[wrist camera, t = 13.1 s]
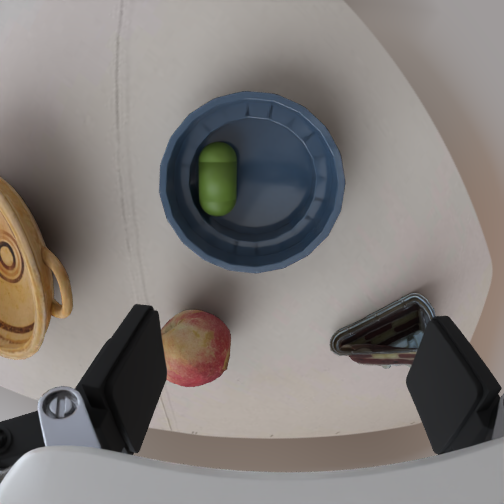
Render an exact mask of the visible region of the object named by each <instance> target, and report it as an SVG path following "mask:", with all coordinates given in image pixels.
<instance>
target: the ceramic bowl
mask: <svg viewBox="0 0 504 504" xmlns="http://www.w3.org/2000/svg"><path fill="white" fill-rule="evenodd" d="M52 271H53V273H54V274H55V276H56V278H57V281H58V283H59V287H60V291H61V298H62V305H60V304H59V303H58V302H57V301H56V300H55V299H54V287H53V275H52ZM72 308H73V299H72V291H71V285H70V281H69V277H68V275H67V272H66V270H65V268H64V267H63V265H62V264H61V262H60V261H59V260H58V258H57V257H56V256H55V255H54V254H53V253H52V252H51V251H50V250H49V249H48V248H47V247H46V245H45V242H44V239H43V237H42V234H41V232H40V229H39V227H38V225H37V223H36V221H35V219H34V217H33V215H32V213H31V211H30V210H29V208H28V207H27V205H26V204H25V202H24V201H23V199H22V198H21V196H20V195H19V194H18V193H17V192H16V191H15V189H14V188H13V187H12V186H11V185H10V184H8V183H7V182H6V181H5V180H4V179H3V178H1V177H0V356H2V357H5V358H9V359H14V360H19V359H26V358H29V357H31V356H33V355H34V354H35V353H36V352H37V351H38V350H39V348H40V346H41V344H42V342H43V340H44V336H45V333H46V331H47V329H48V326H49V322H50V319H51V315H52V316H54V317H57V318H66V317H68V316H69V315H70V313H71V311H72Z"/></svg>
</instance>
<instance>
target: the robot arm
mask: <svg viewBox="0 0 504 504" xmlns="http://www.w3.org/2000/svg"><path fill="white" fill-rule="evenodd" d="M166 379H167V366H166V361H165V354H164V348H163V342H162V335H161V328H160V321H159V314H158V311H155V310H154V309H153V307H152V306H149V305H139V304H135V305H134V306H133V308H132V309H131V311H130V312H129V313H128V315H127V316H126V318H125V319H124V320H123V322H122V323H121V325H120V326H119V328H118V329H117V330H116V332H115V333H114V335H113V336H112V338H111V339H109V340H108V341H107V342H106V343H105V345H104V346H103V347H102V349H101V350H100V352H99V353H98V355H97V356H96V358H95V359H94V361H93V362H92V364H91V365H90V367H89V368H88V370H87V371H86V373H85V374H84V376H83V377H82V379H81V380H80V382H79V383H78V385H77V386H76V388H75V389H74V388H71V387H66V386H60V387H55V388H52V389H50V390H48V391H47V392H45V393H44V394H43V395H42V397H41V398H40V400H39V402H38V411H35V412H32V413H29V414H25V415H22V416H19V417H15V418H12V419H9V420H5V421H2V422H0V504H504V394H503V395H502V396H501V397H499V395H498V393H499V392H500V390H501V386H500V385H499V383H498V382H497V380H496V379H495V377H494V376H493V374H492V373H491V372H490V370H489V369H488V367H487V366H486V365H485V363H484V362H483V360H482V359H481V358H480V357H479V355H478V354H477V352H476V351H475V350H474V348H473V347H472V346H471V344H470V343H469V342H468V340H467V339H466V338H465V336H464V335H463V334H462V332H461V331H460V330H459V329H458V327H457V326H456V325H455V324H454V322H453V321H452V320H451V319H450V317H448V316H435V317H433V318H432V319H431V321H429V322H428V323H427V325H426V328H425V331H424V334H423V337H422V340H421V342H420V345H419V348H418V350H417V353H416V355H415V358H414V360H413V363H412V365H411V368H410V370H409V373H408V375H407V378H406V384H407V387H408V390H409V392H410V394H411V396H412V399H413V401H414V404H415V406H416V408H417V411H418V413H419V416H420V418H421V420H422V423H423V425H424V428H425V430H426V433H427V436H428V438H429V440H430V443H431V446H432V449H433V451H434V452H435V453H436V454H438V455H436V456H432V457H427V458H422V459H418V460H413V461H407V462H402V463H397V464H390V465H383V466H376V467H369V468H359V469H350V470H337V471H320V472H255V471H239V470H227V469H217V468H208V467H199V466H192V465H185V464H178V463H171V462H166V461H160V460H155V459H150V458H145V457H140V456H135V455H133V454H134V453H138V452H139V450H140V448H141V445H142V443H143V440H144V437H145V435H146V432H147V429H148V427H149V424H150V421H151V418H152V416H153V413H154V410H155V408H156V405H157V403H158V400H159V397H160V395H161V392H162V389H163V387H164V384H165V382H166Z"/></svg>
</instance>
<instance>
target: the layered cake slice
mask: <svg viewBox="0 0 504 504" xmlns="http://www.w3.org/2000/svg"><path fill="white" fill-rule="evenodd" d="M433 317H435V311H434V308H432V307H431V305H430V303H429V301H428V300H427V298H425V297H424V296H422V295H420V294H419V293H417V294H416V293H412V294H409V295H407V296H405V297H402V298H401V300H399V301H395V302H394V303H392V304H390V305H388V306H387V307H385V308H383V309H381V310H379V311H377V312H375V313H373V314H372V315H371V314H370V315H369V316H367V317H366V318H364V319H362V320H361V321H359V322H358V321H357V322H355V323H354V324H352V325H349V326H347V327H345V328H342V329H340V330H338V332H337V333H335V334H334V335H333V336H332V338H331V339H330V348H331V351H333V352H334V353H335V354H337V355H339V356H342V355H346V356H347V355H349V357H351V359H352V360H353V361H355V362H357V363H359V364H363V365H378V366H382V367H383V368H390V367H391V365H395V366H399V365H406V366H409V367H410V368H411V365H412V363H413V360H414V358H415V355H416V353H417V350H418V348H419V345H420V342H421V340H422V337H423V334H424V331H425V328H426V325H427V323H428V322H429V321H431V319H432V318H433Z"/></svg>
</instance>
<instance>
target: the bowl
mask: <svg viewBox="0 0 504 504" xmlns="http://www.w3.org/2000/svg"><path fill="white" fill-rule="evenodd" d="M213 142H223V143H226V144H228V145H230V146H231V147H232V148H233V149H234V151H235V153H236V156H237V198H236V204H235V206H234V208H233V209H232V210H231V211H230V212H229V213H228V214H226V215H224V216H212V215H209V214H208V213H206V212H205V211H204V210H203V209H202V207H201V205H200V202H199V156H200V153H201V151H202V150H203V148H204V147H205V146H207V145H208V144H210V143H213ZM344 189H345V176H344V170H343V164H342V158H341V154H340V151H339V150H338V148H337V146H336V144H335V142H334V140H333V138H332V136H331V135H330V133H329V131H328V129H327V128H326V126H325V125H324V124H323V123H321V122H320V121H319V120H318V119H317V118H316V117H315V116H314V115H313V114H312V113H311V112H310V111H309V110H307V109H306V108H305V107H304V106H302V105H300V104H298V103H295V102H293V101H291V100H289V99H286V98H284V97H282V96H280V95H277V94H273V93H263V92H251V91H242V92H238V93H234V94H229V95H225V96H221V97H217V98H215V99H212V100H211V101H209V102H208V103H206V104H204V105H203V106H201V107H200V108H198V109H196V110H195V111H193V112H192V113H190V114H189V115H188V116H187V117H186V119H185V120H184V121H183V122H182V123H181V125H180V126H179V127H178V128H177V130H176V131H175V132H174V133H173V135H172V136H171V138H170V140H169V142H168V145H167V147H166V150H165V153H164V155H163V158H162V161H161V165H160V184H159V193H160V197H161V201H162V204H163V208H164V211H165V214H166V218H167V220H168V222H169V223H170V225H171V226H172V228H173V229H174V231H175V232H176V234H177V235H178V237H179V238H180V240H181V241H182V242H183V244H185V245H186V246H187V247H188V248H190V249H191V250H192V251H193V252H194V253H196V254H197V255H198V256H199V257H201V258H202V259H203V260H205V261H207V262H210V263H212V264H214V265H217V266H219V267H222V268H224V269H226V270H230V271H238V272H248V273H261V272H267V271H272V270H277V269H282V268H285V267H287V266H289V265H291V264H293V263H295V262H297V261H299V260H300V259H302V258H304V257H306V256H308V255H309V254H310V253H311V252H312V251H313V250H314V249H315V248H316V247H317V246H318V245H319V244H320V243H321V242H322V241H323V240H324V239H325V238H326V237H327V236H328V235H329V233H330V231H331V229H332V227H333V225H334V224H335V222H336V220H337V218H338V216H339V214H340V212H341V208H342V202H343V195H344Z"/></svg>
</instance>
